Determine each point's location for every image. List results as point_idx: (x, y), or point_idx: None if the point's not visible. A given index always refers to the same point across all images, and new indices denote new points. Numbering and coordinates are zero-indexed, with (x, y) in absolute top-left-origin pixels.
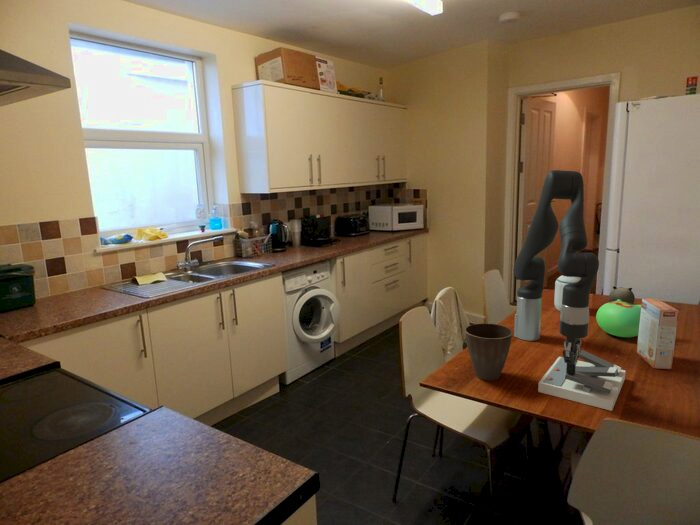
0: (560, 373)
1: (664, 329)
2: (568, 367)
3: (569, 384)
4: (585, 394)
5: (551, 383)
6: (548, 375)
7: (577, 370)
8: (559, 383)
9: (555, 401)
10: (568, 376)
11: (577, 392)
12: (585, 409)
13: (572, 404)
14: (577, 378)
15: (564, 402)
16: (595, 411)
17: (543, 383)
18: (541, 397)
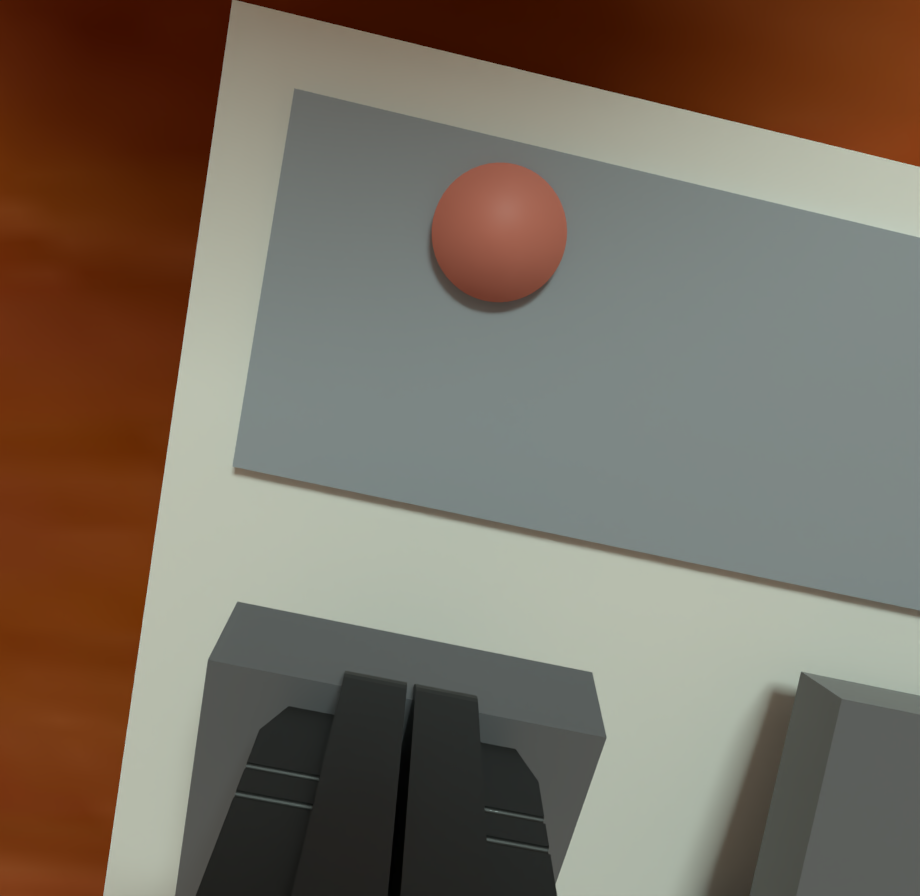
0: (870, 450)
1: None
2: (209, 861)
3: (409, 613)
4: (110, 846)
5: (278, 286)
6: (684, 206)
7: (869, 826)
8: (346, 442)
9: (46, 356)
10: (209, 709)
11: (126, 735)
12: (6, 746)
13: (72, 592)
14: (189, 888)
15: (80, 485)
16: (14, 852)
17: (238, 115)
18: (80, 124)
